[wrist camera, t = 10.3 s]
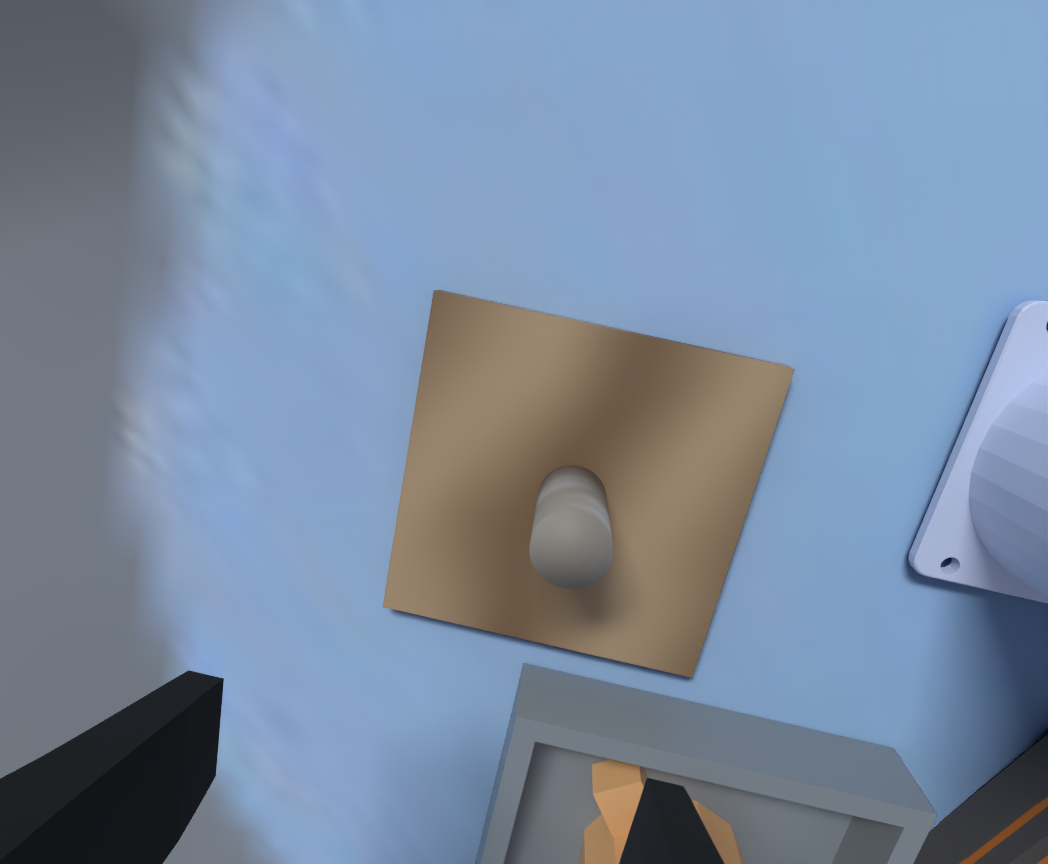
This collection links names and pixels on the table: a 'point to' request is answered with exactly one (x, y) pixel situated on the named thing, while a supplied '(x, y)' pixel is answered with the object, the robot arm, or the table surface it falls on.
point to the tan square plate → (577, 481)
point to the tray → (696, 777)
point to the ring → (618, 803)
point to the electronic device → (998, 819)
